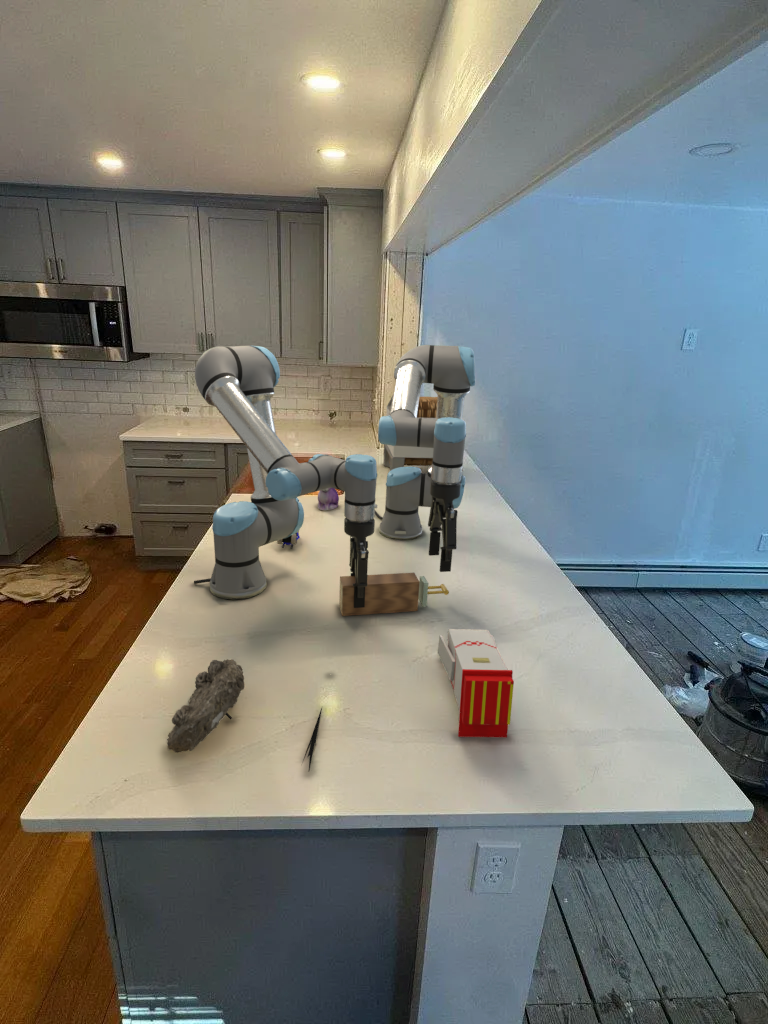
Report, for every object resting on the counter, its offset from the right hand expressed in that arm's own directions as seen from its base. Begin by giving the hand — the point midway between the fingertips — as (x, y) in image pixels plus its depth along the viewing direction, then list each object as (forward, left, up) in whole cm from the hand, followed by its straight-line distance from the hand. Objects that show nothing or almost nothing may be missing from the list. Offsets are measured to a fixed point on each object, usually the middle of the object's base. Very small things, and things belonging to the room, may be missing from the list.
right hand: (439, 562), depth 149 cm
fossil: (+5, -66, -12) cm, 68 cm away
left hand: (-10, -19, -10) cm, 24 cm away
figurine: (-80, +21, -12) cm, 84 cm away
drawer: (-5, -9, -12) cm, 15 cm away
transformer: (-96, +87, -12) cm, 130 cm away
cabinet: (-8, -14, -12) cm, 20 cm away
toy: (+30, -21, -12) cm, 39 cm away
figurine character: (-58, -10, -12) cm, 60 cm away
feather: (+18, -50, -12) cm, 55 cm away
